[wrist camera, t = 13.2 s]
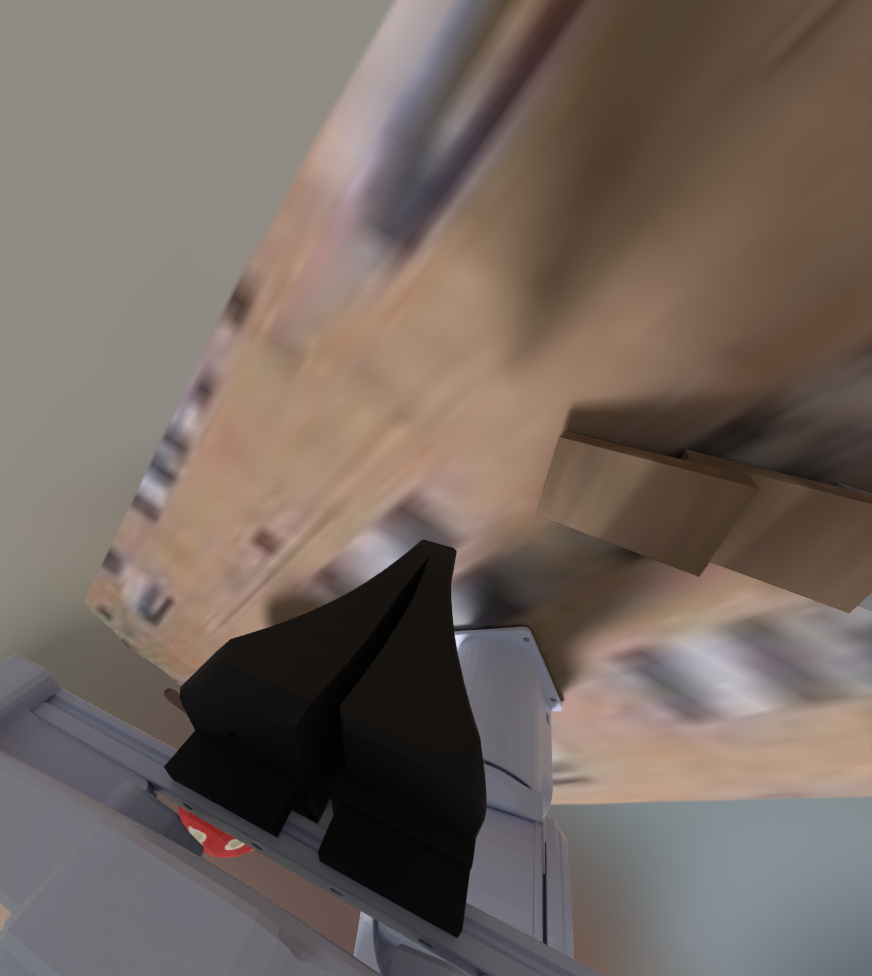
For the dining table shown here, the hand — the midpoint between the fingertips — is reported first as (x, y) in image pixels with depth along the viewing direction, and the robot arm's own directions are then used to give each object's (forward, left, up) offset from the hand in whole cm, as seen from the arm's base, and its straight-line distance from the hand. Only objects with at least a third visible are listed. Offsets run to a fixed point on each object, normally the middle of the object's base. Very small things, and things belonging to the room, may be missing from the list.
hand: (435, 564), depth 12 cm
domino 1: (-1, -4, -9) cm, 10 cm away
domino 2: (-4, -9, -9) cm, 13 cm away
